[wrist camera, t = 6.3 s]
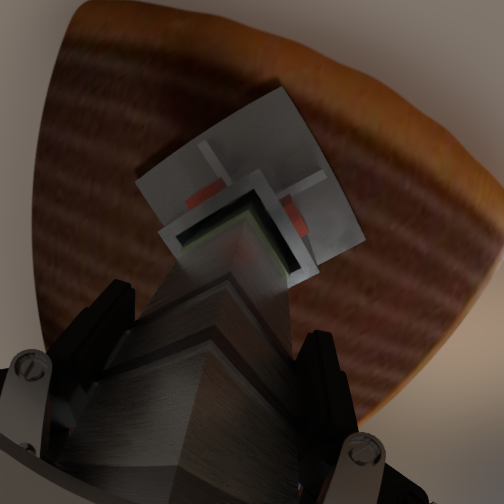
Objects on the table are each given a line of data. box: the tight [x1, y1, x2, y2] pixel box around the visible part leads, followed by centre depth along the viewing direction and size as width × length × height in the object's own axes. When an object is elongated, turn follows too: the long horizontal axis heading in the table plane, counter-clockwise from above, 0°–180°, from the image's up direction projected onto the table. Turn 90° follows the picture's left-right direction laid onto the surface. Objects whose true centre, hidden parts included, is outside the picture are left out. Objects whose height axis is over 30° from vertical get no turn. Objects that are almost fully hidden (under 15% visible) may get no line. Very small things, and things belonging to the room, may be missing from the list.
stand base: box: [135, 86, 366, 288], centre depth 22 cm, size 16×16×11 cm
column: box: [55, 192, 301, 504], centre depth 12 cm, size 4×4×19 cm
